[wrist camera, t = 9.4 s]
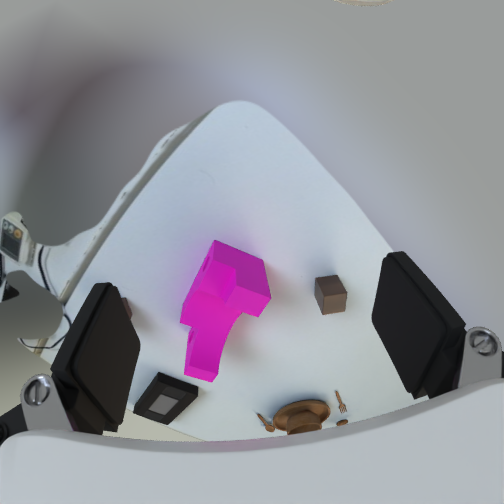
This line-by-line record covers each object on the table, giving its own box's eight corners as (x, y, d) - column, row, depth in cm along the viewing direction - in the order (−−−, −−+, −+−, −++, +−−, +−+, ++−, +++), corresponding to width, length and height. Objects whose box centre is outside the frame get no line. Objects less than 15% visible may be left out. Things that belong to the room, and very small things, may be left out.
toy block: (214, 239, 33) (211, 275, 26) (262, 260, 35) (271, 298, 28) (172, 327, 39) (164, 368, 32) (212, 341, 41) (211, 382, 34)
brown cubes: (106, 298, 36) (97, 317, 32) (337, 274, 37) (347, 292, 33) (114, 315, 37) (106, 334, 34) (335, 293, 38) (345, 311, 35)
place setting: (337, 384, 49) (345, 409, 44) (350, 421, 58) (357, 441, 53) (251, 412, 51) (253, 437, 46) (282, 443, 60) (285, 463, 55)
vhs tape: (198, 386, 46) (198, 395, 44) (168, 417, 51) (167, 425, 49) (158, 371, 43) (157, 380, 42) (134, 405, 48) (133, 413, 47)
